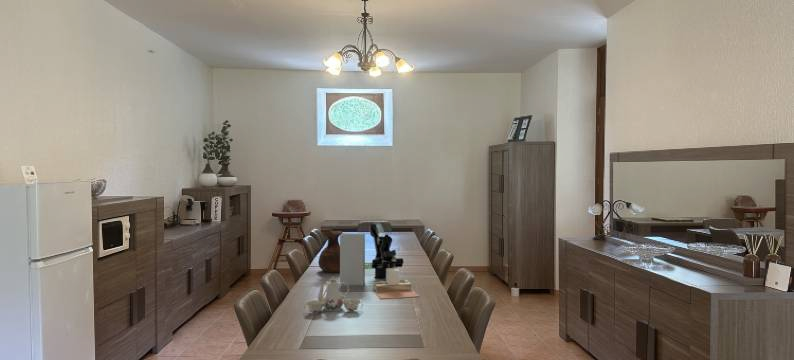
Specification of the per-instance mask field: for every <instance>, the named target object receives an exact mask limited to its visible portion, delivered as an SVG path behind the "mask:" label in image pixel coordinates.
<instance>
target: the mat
mask: <svg viewBox="0 0 794 360" xmlns="http://www.w3.org/2000/svg"><path fill="white" fill-rule="evenodd" d="M375 295H376V296H377V297H378V299H380V300H388V299H389V300H390V299H407V298H420V295H419V294H418V293H417V292H416V291H414V290H413V289H411V291H393V292H376V291H375Z"/></svg>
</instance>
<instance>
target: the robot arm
mask: <svg viewBox="0 0 794 360" xmlns="http://www.w3.org/2000/svg"><path fill="white" fill-rule="evenodd" d="M368 232H369V234H370V236H371V237H372V238H373V242H374V247H375V256H374V259H373V258H372V260H371V261H372V262H371V263H372V268H375V269H374V279H386V268H393V267H394V264H395V266H396V267H397V268H402V267H403V266H404V265H403V264H404V263H405V262H404V259H403V257H399V258H397V257H396V255H397V252H396V249H392V250H391V247H392V243H393V238H392V237H391V236H390V235H389V234H388V233H385V230H384V226H383V223H382V222H373V223H372V224H370V225H368ZM393 256H395V257H396V261H392V260H393ZM388 265H389V267H388Z"/></svg>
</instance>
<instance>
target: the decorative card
mask: <svg viewBox="0 0 794 360" xmlns="http://www.w3.org/2000/svg"><path fill="white" fill-rule="evenodd" d="M396 259H397V257H396V255H395V256H393V260H392V261H396ZM388 267H389V265H388ZM393 268H397V269H398V267H396V266H395V264H394V267H393ZM372 269H374V270H375V268H372V262H365V270H372Z"/></svg>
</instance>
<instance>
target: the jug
mask: <svg viewBox="0 0 794 360" xmlns="http://www.w3.org/2000/svg"><path fill="white" fill-rule="evenodd" d="M320 232H321V233H323V235H324V236H325V237H326V238H327V245H326V247H324V248H323V249H322V250H321V252H320V254H319V257H318V263H317V264H318V266H319V268H320V270H321V271H323V272H326V273H331V274H332V273H334V274H337V273H338V274H340V241H339V238H340V235H342V234H344V232H343V231H341V230H337V231H335V230H334V231H331V229H329V228H321V229H320Z"/></svg>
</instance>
